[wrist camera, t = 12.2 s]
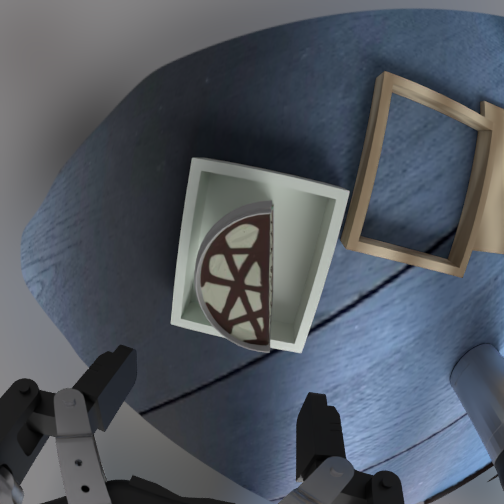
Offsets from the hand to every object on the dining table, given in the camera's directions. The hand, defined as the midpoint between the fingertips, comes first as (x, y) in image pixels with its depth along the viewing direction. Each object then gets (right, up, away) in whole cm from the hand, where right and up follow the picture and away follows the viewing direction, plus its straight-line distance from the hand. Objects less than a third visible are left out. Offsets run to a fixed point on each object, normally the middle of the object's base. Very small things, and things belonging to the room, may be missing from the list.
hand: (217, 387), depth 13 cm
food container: (+1, +6, +19) cm, 20 cm away
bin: (+2, +6, +20) cm, 21 cm away
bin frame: (+20, +14, +16) cm, 29 cm away
